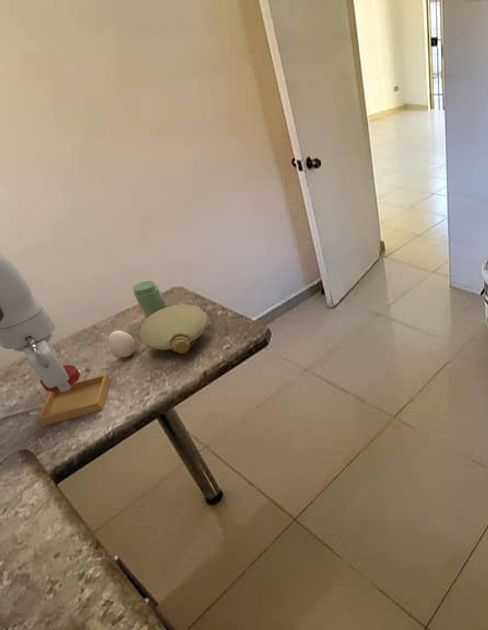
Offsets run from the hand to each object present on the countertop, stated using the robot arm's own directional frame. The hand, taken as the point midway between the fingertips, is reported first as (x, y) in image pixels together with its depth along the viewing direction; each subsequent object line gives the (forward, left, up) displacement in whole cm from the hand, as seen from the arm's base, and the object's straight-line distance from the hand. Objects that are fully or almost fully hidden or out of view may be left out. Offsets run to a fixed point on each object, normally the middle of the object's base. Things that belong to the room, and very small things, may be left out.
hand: (62, 380), depth 92 cm
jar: (+14, +30, -7) cm, 34 cm away
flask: (+21, +13, -7) cm, 25 cm away
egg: (+8, +15, -7) cm, 18 cm away
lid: (0, 0, +1) cm, 1 cm away
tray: (0, +1, -7) cm, 7 cm away
